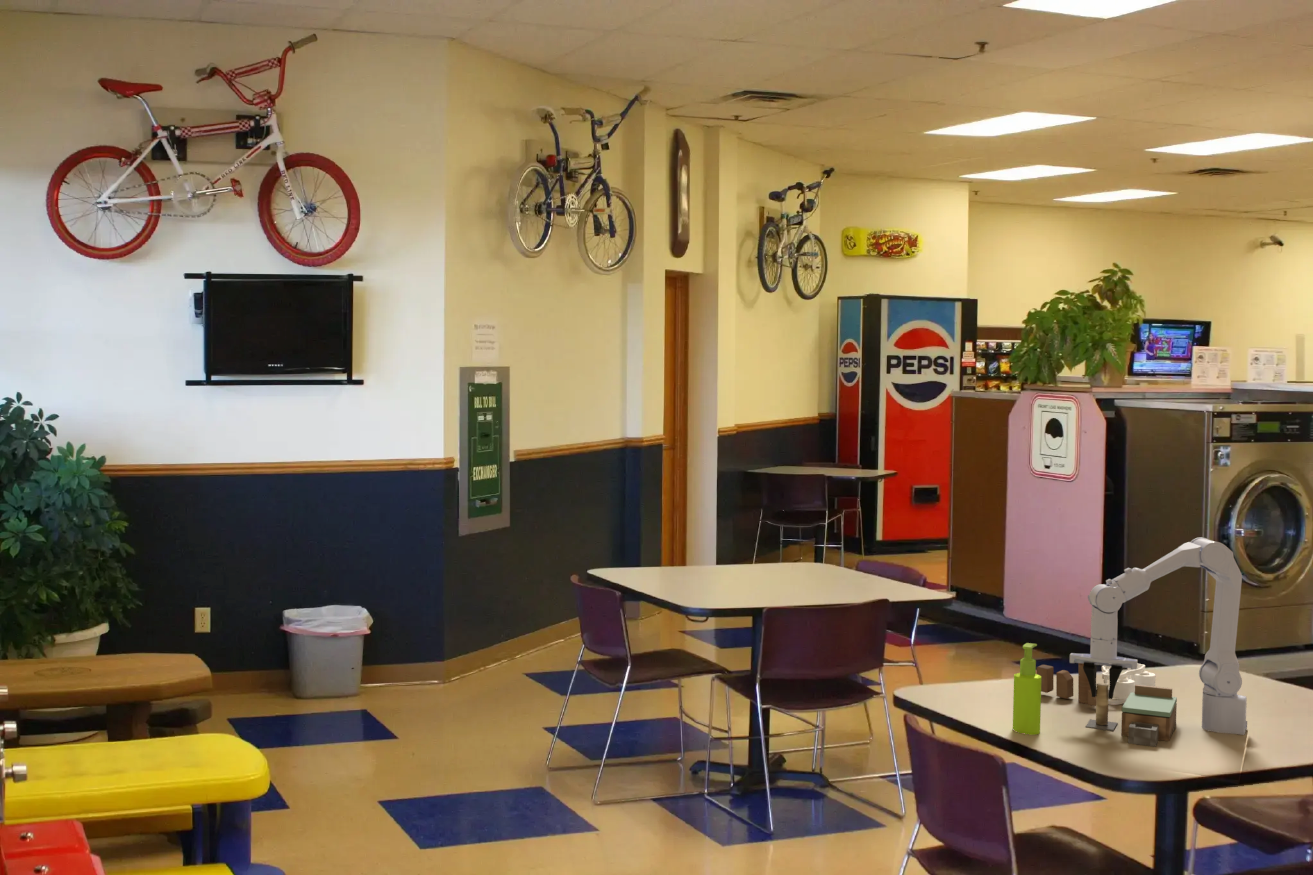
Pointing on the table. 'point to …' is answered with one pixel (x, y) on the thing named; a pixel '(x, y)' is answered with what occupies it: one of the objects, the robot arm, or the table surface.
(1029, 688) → the soap dispenser
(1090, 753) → the table surface
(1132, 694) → the toolbox lid
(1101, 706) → the beige banded cylinder
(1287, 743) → the table surface
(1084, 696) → the wooden block set
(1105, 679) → the wheeled car silhouette
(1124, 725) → the toolbox
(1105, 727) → the mat
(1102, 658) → the robot arm
